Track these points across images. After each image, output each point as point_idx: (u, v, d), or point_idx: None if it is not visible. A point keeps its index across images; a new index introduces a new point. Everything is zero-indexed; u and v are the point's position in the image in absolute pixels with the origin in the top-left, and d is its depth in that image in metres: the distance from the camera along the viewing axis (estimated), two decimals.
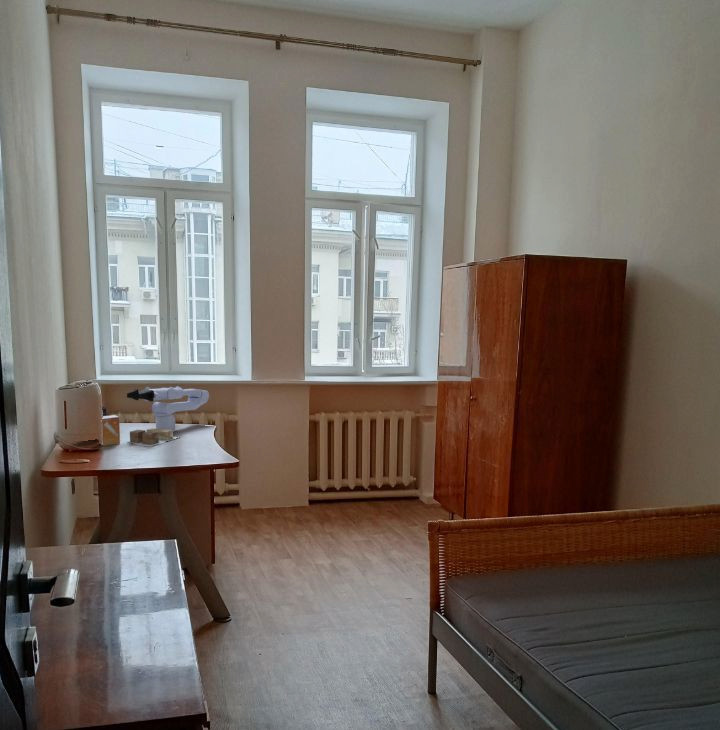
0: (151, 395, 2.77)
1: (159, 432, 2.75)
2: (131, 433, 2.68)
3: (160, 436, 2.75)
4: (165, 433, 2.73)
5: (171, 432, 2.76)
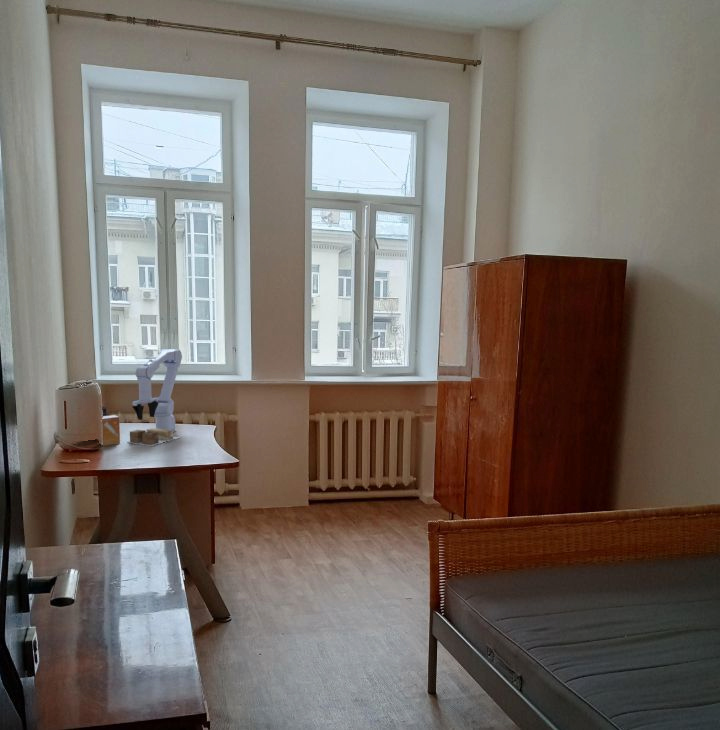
0: None
1: (159, 432, 2.75)
2: (131, 433, 2.68)
3: (160, 436, 2.75)
4: (165, 433, 2.73)
5: (171, 432, 2.76)
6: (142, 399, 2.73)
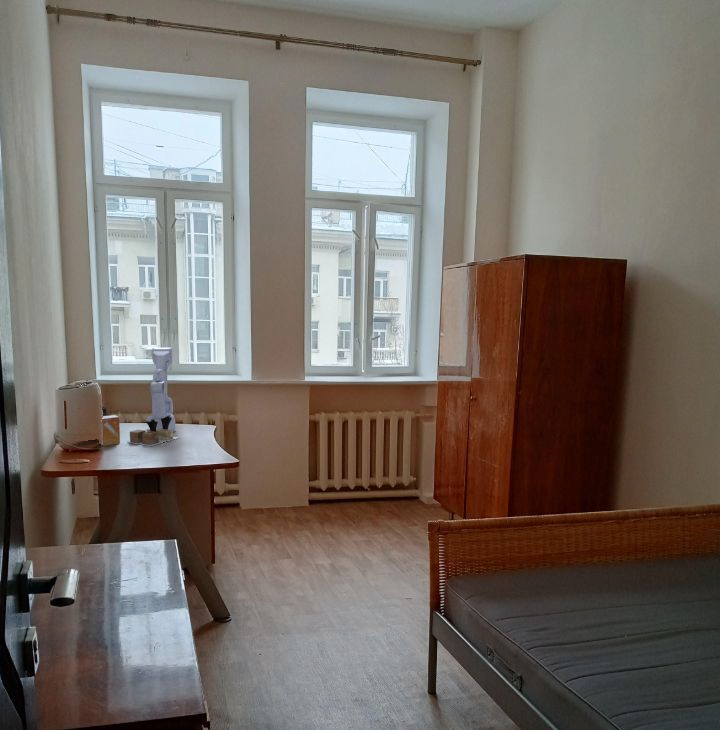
0: None
1: (159, 432, 2.75)
2: (131, 433, 2.68)
3: (160, 436, 2.75)
4: (165, 433, 2.73)
5: (171, 432, 2.76)
6: (156, 414, 2.74)
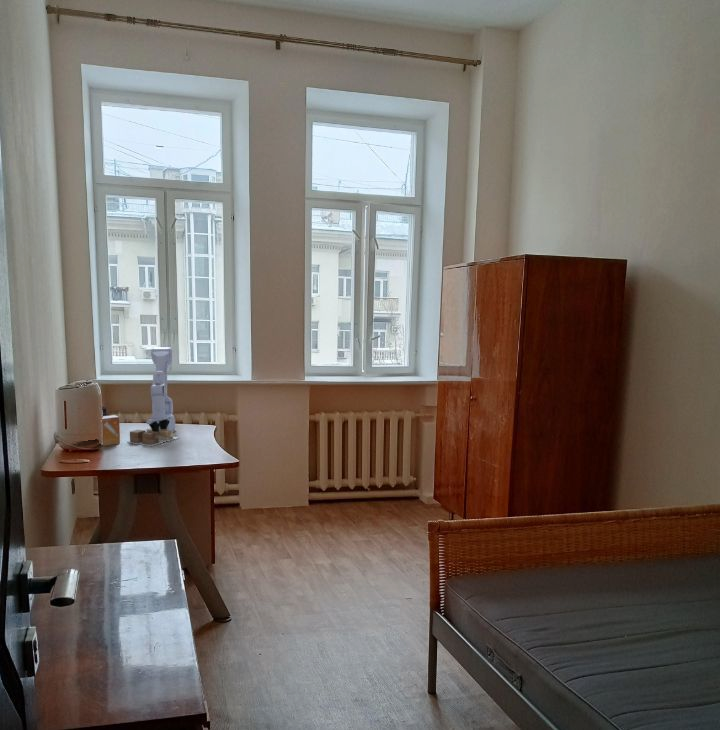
0: None
1: (159, 432, 2.75)
2: (131, 433, 2.68)
3: (160, 436, 2.75)
4: (165, 433, 2.73)
5: (171, 432, 2.76)
6: (156, 417, 2.74)
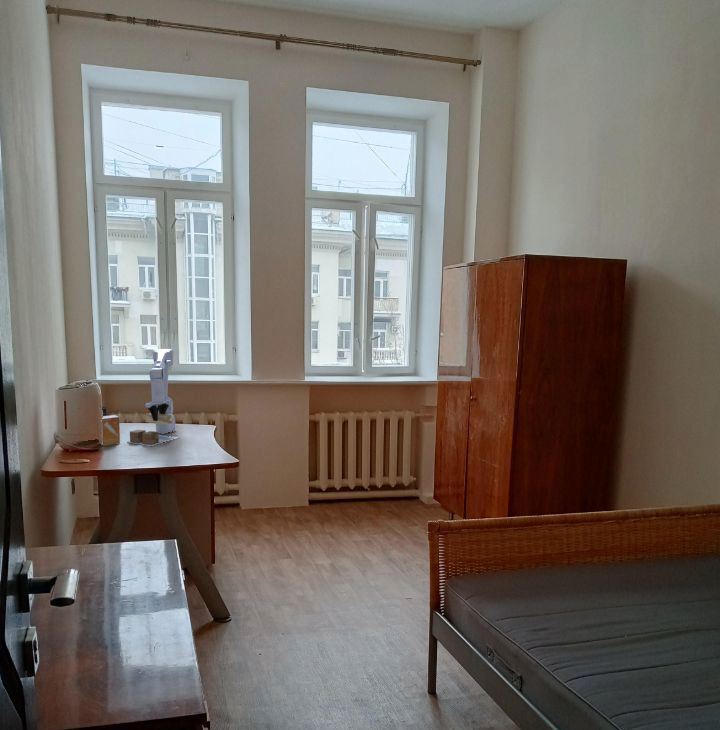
0: None
1: (158, 417, 2.74)
2: (131, 433, 2.68)
3: (159, 421, 2.74)
4: (164, 417, 2.72)
5: (170, 417, 2.75)
6: (155, 401, 2.73)
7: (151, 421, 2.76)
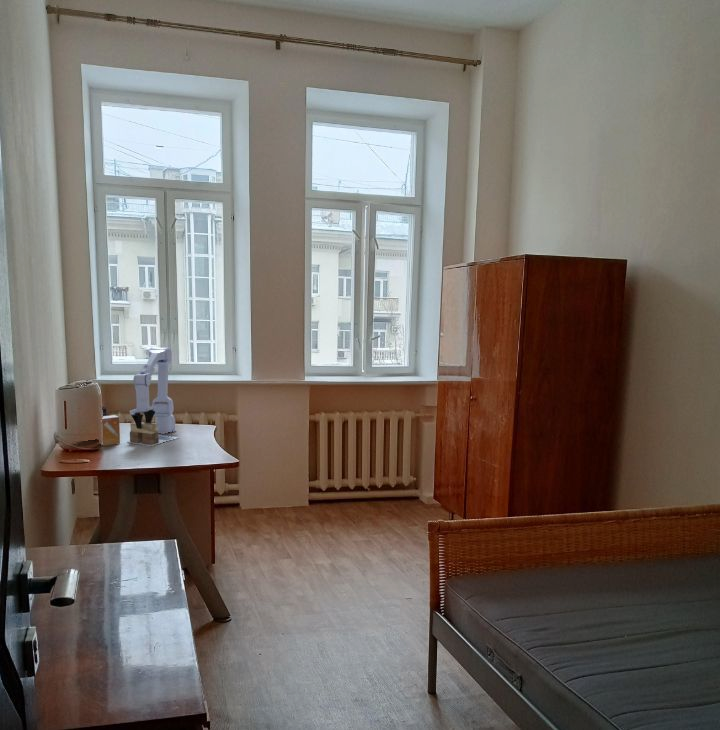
0: None
1: (143, 426, 2.65)
2: (131, 433, 2.68)
3: (144, 430, 2.65)
4: (149, 427, 2.64)
5: (156, 426, 2.66)
6: (140, 408, 2.64)
7: (136, 430, 2.67)
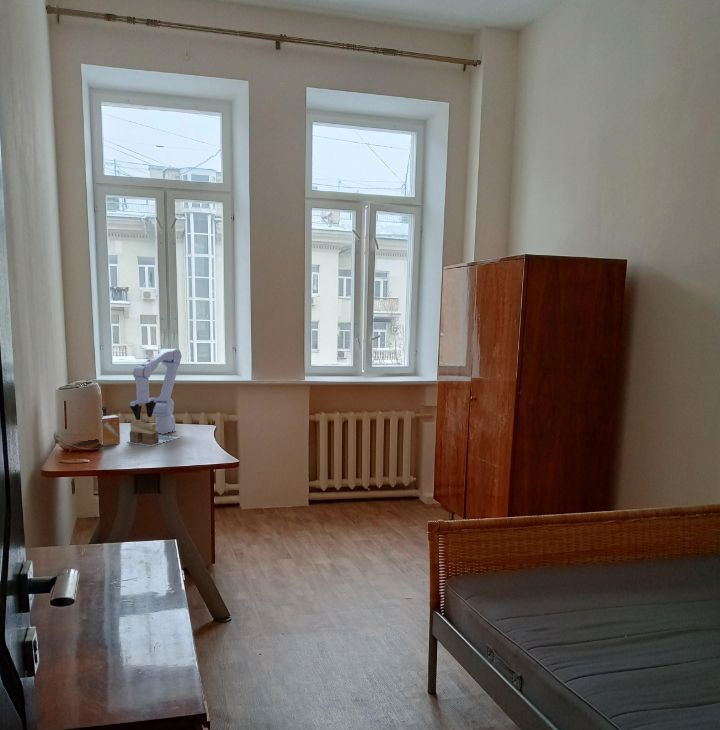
0: None
1: (143, 426, 2.65)
2: (131, 433, 2.68)
3: (144, 430, 2.65)
4: (149, 427, 2.64)
5: (156, 426, 2.66)
6: (140, 399, 2.72)
7: (136, 430, 2.67)
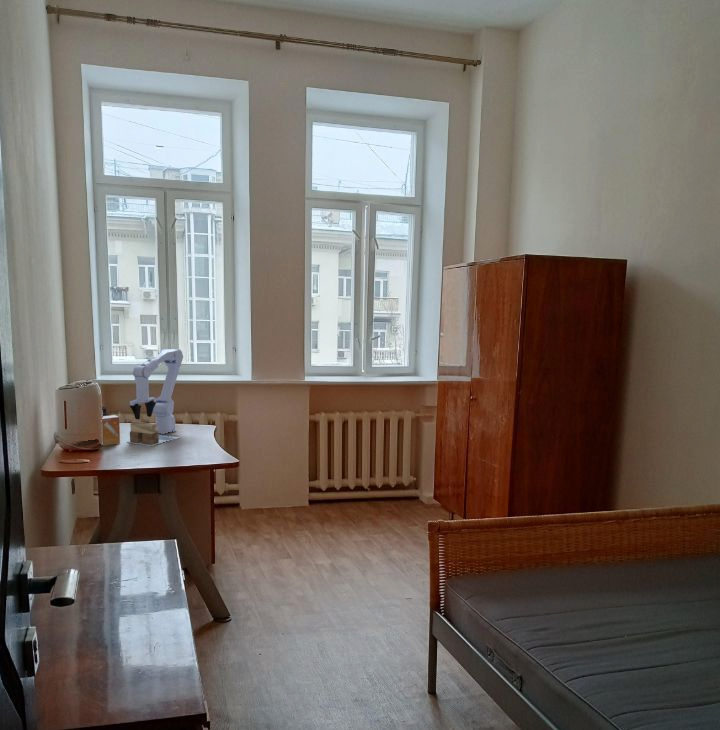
0: None
1: (143, 426, 2.65)
2: (131, 433, 2.68)
3: (144, 430, 2.65)
4: (149, 427, 2.64)
5: (156, 426, 2.66)
6: (139, 399, 2.73)
7: (136, 430, 2.67)
